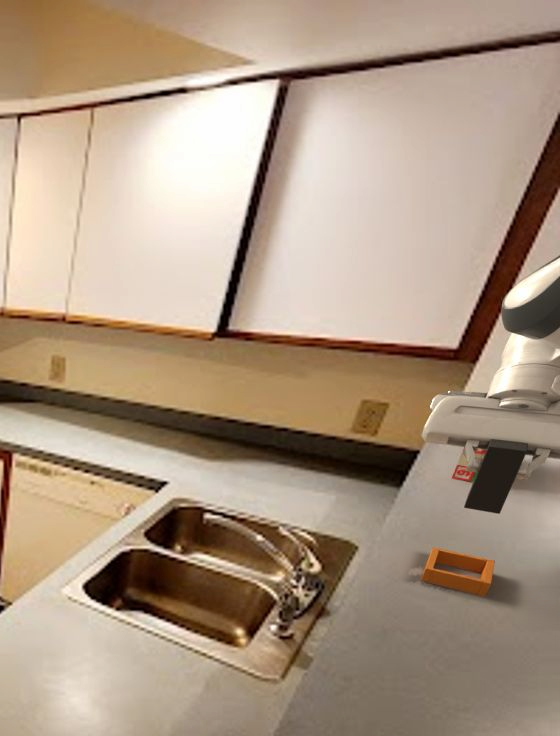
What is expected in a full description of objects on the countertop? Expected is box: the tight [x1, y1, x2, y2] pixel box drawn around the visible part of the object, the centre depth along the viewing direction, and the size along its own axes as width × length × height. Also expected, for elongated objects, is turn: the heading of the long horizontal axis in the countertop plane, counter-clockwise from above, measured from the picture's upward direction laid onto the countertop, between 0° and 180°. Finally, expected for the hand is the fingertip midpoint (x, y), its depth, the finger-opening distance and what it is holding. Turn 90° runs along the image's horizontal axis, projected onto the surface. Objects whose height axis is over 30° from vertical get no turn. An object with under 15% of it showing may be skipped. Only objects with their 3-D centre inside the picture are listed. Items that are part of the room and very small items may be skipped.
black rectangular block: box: [463, 439, 528, 515], centre depth 95 cm, size 4×6×10 cm, turn 134°
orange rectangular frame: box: [420, 547, 496, 597], centre depth 93 cm, size 8×11×4 cm
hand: (496, 473), depth 94 cm, fingers closed on black rectangular block, 4 cm apart
